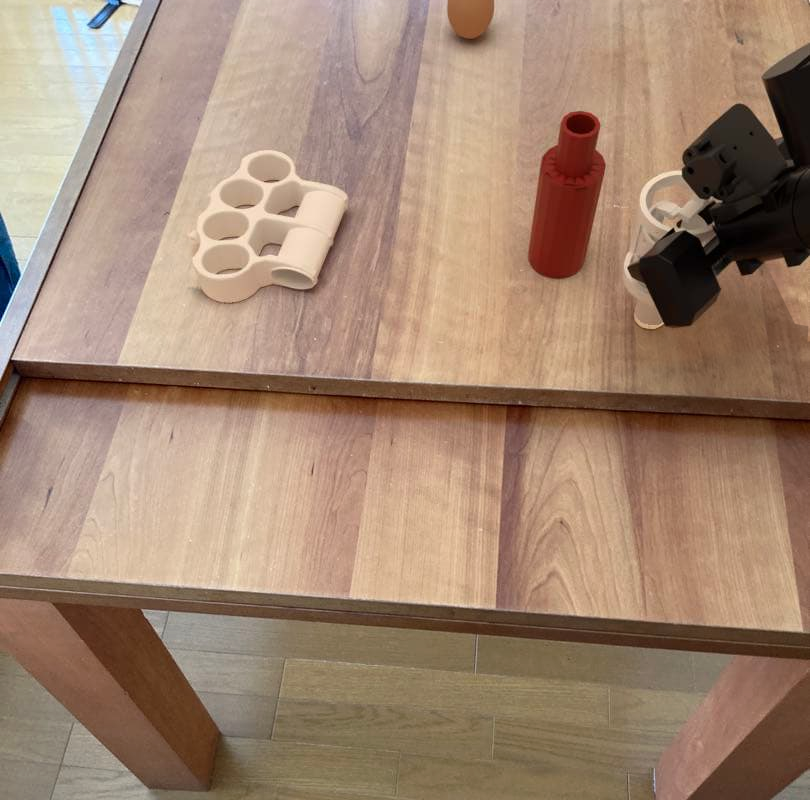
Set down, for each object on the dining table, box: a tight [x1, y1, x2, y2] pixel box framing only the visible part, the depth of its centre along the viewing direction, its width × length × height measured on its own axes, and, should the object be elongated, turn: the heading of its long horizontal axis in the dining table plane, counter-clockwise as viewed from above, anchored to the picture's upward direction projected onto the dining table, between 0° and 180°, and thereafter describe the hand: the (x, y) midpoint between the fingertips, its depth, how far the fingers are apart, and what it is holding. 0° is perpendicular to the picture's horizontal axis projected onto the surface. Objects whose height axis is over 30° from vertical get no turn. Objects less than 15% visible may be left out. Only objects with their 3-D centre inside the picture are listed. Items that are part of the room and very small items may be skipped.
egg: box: [446, 0, 495, 40], centre depth 94 cm, size 5×5×7 cm
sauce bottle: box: [527, 110, 607, 279], centre depth 75 cm, size 6×6×15 cm
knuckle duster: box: [185, 149, 350, 304], centre depth 83 cm, size 3×18×15 cm
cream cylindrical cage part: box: [621, 169, 722, 325], centre depth 71 cm, size 7×7×15 cm
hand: (655, 248), depth 72 cm, fingers closed on cream cylindrical cage part, 7 cm apart
